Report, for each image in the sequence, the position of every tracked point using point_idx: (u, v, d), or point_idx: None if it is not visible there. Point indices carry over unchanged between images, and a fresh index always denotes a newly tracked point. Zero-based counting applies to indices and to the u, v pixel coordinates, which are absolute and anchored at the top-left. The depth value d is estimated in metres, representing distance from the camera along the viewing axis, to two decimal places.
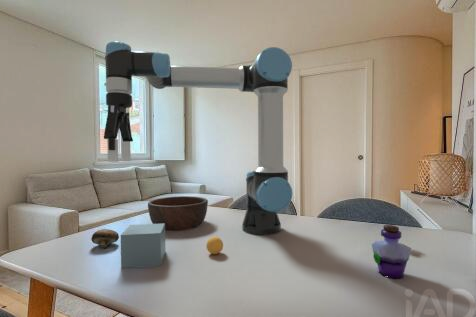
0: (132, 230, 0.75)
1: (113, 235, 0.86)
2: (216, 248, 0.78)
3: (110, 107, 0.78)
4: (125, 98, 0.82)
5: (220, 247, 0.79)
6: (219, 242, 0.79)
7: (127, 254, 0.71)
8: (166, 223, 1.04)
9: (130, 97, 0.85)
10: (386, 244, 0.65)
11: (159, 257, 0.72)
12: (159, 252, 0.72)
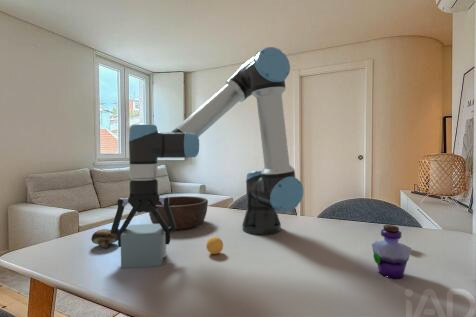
0: (132, 230, 0.75)
1: (113, 235, 0.86)
2: (216, 248, 0.78)
3: None
4: (131, 186, 0.73)
5: (220, 247, 0.79)
6: (219, 242, 0.79)
7: (127, 254, 0.71)
8: None
9: (138, 184, 0.72)
10: (386, 244, 0.65)
11: (159, 257, 0.72)
12: (159, 252, 0.72)
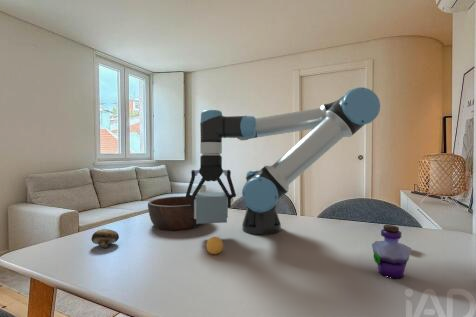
0: (202, 195, 0.93)
1: (113, 235, 0.86)
2: (216, 248, 0.78)
3: None
4: (203, 160, 0.91)
5: (220, 247, 0.79)
6: (219, 242, 0.79)
7: (201, 212, 0.89)
8: (166, 223, 1.04)
9: (209, 158, 0.91)
10: (386, 244, 0.65)
11: (225, 216, 0.91)
12: (225, 212, 0.91)
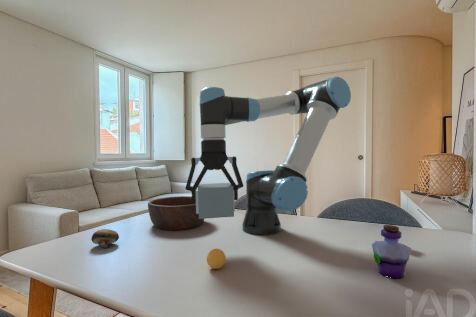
0: (204, 186, 0.81)
1: (113, 235, 0.86)
2: None
3: None
4: (204, 145, 0.79)
5: None
6: None
7: (204, 206, 0.77)
8: (166, 223, 1.04)
9: (212, 142, 0.78)
10: (386, 244, 0.65)
11: (232, 209, 0.78)
12: (232, 204, 0.78)
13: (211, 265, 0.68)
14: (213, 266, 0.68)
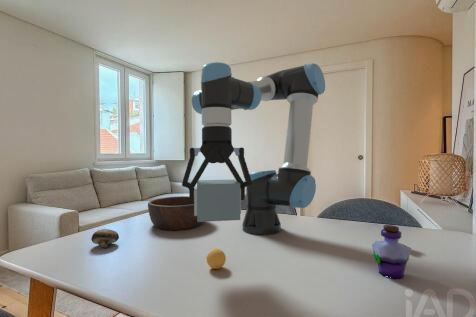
0: (205, 182, 0.67)
1: (113, 235, 0.86)
2: None
3: None
4: (206, 133, 0.65)
5: None
6: None
7: (204, 206, 0.63)
8: (166, 223, 1.04)
9: (215, 129, 0.64)
10: (386, 244, 0.65)
11: (238, 210, 0.64)
12: (238, 205, 0.64)
13: (211, 265, 0.68)
14: (213, 266, 0.68)
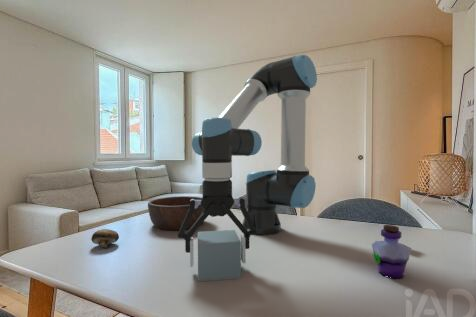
0: (206, 238, 0.67)
1: (113, 235, 0.86)
2: None
3: (190, 201, 0.68)
4: (206, 188, 0.65)
5: None
6: None
7: (205, 265, 0.63)
8: (166, 223, 1.04)
9: (215, 185, 0.64)
10: (386, 244, 0.65)
11: (239, 269, 0.64)
12: (239, 263, 0.64)
13: None
14: None
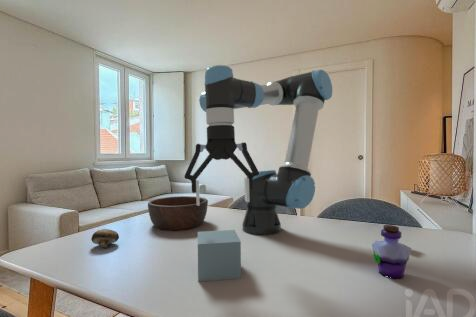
0: (206, 238, 0.67)
1: (113, 235, 0.86)
2: None
3: None
4: (211, 131, 0.70)
5: None
6: None
7: (205, 265, 0.63)
8: (166, 223, 1.04)
9: (219, 128, 0.69)
10: (386, 244, 0.65)
11: (239, 269, 0.64)
12: (239, 263, 0.64)
13: None
14: None
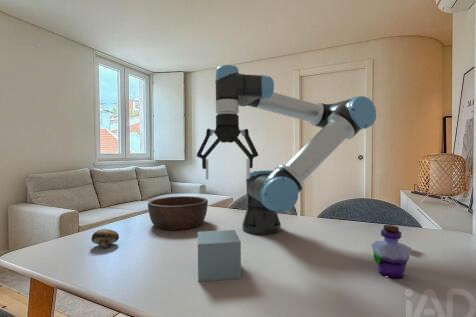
0: (206, 238, 0.67)
1: (113, 235, 0.86)
2: None
3: None
4: (219, 118, 0.85)
5: None
6: None
7: (205, 265, 0.63)
8: (166, 223, 1.04)
9: (226, 116, 0.85)
10: (386, 244, 0.65)
11: (239, 269, 0.64)
12: (239, 263, 0.64)
13: None
14: None
